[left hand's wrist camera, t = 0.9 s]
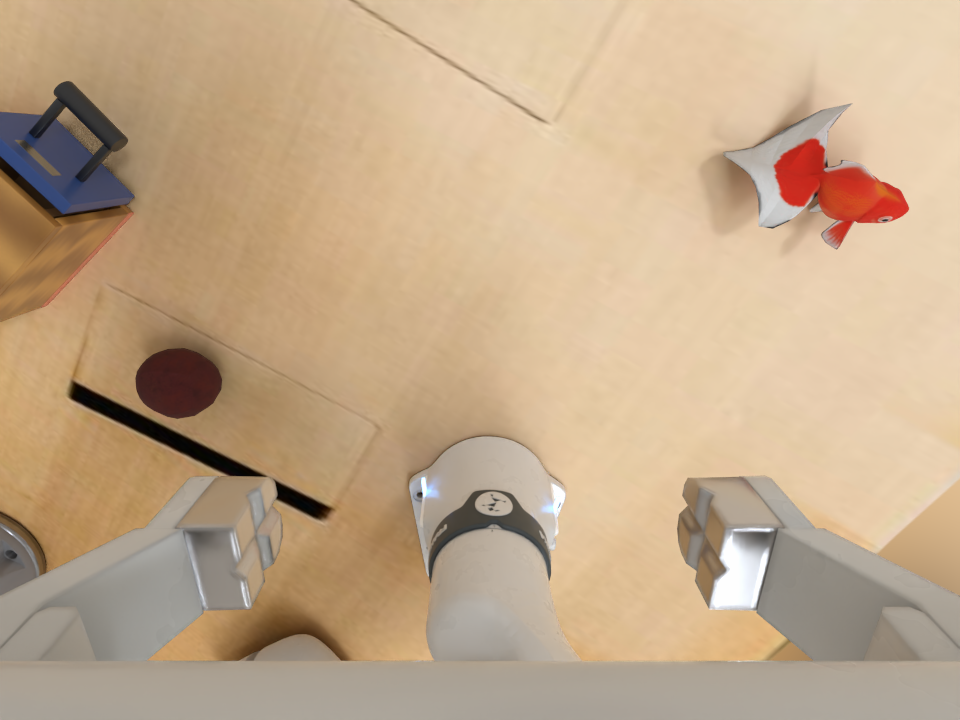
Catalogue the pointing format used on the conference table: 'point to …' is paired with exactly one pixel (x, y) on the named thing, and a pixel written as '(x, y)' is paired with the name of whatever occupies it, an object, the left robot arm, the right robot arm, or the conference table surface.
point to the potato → (178, 383)
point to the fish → (815, 180)
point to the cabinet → (45, 247)
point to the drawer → (62, 157)
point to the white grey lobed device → (294, 650)
